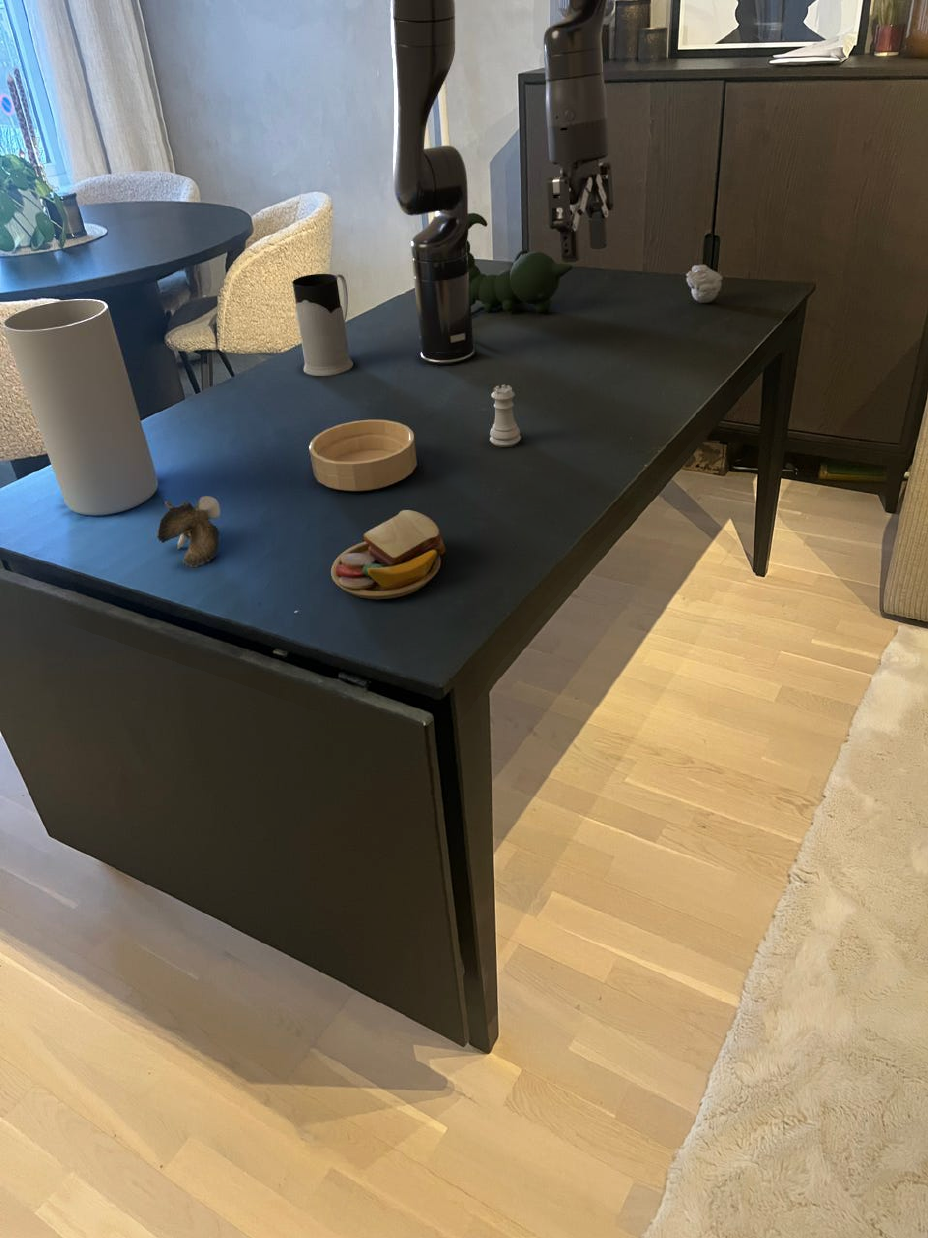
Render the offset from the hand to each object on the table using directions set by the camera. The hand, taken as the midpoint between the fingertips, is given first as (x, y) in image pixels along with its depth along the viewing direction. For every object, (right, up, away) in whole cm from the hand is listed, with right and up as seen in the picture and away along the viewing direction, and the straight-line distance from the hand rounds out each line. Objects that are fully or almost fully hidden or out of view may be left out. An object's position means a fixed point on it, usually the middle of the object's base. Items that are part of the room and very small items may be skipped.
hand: (585, 254), depth 126 cm
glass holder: (-39, -3, +42) cm, 58 cm away
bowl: (-30, -28, +5) cm, 41 cm away
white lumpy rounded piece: (+30, +12, +54) cm, 63 cm away
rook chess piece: (-10, -23, +9) cm, 27 cm away
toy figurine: (-7, +12, +59) cm, 61 cm away
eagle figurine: (-49, -40, -10) cm, 64 cm away
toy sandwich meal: (-25, -43, -17) cm, 53 cm away
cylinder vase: (-65, -32, +4) cm, 72 cm away
